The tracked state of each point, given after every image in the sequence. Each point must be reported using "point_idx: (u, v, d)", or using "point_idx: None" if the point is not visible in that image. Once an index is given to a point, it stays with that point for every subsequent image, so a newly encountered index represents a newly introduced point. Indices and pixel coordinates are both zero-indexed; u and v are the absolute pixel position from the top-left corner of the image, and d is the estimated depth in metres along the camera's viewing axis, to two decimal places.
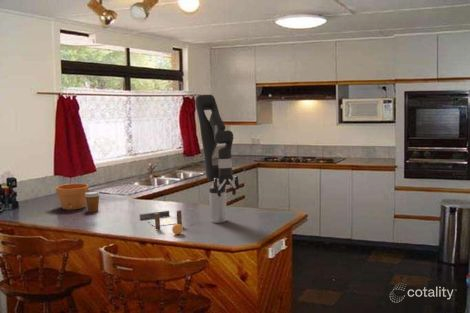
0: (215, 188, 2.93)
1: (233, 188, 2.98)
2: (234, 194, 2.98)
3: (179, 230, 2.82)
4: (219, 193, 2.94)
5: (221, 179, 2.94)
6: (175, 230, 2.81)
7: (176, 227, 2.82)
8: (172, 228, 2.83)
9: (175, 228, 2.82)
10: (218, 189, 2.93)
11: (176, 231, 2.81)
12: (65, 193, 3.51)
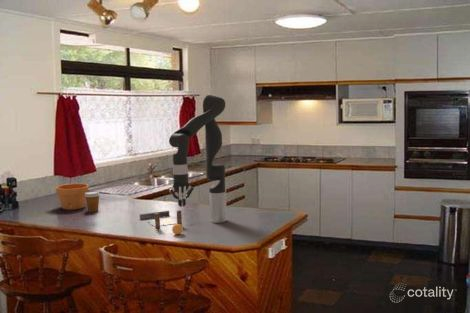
0: (176, 198, 2.71)
1: (183, 199, 2.73)
2: (184, 205, 2.73)
3: (179, 230, 2.82)
4: (180, 203, 2.72)
5: (176, 186, 2.70)
6: (175, 230, 2.81)
7: (176, 227, 2.82)
8: (172, 228, 2.83)
9: (175, 228, 2.82)
10: (179, 199, 2.72)
11: (176, 231, 2.81)
12: (65, 193, 3.51)
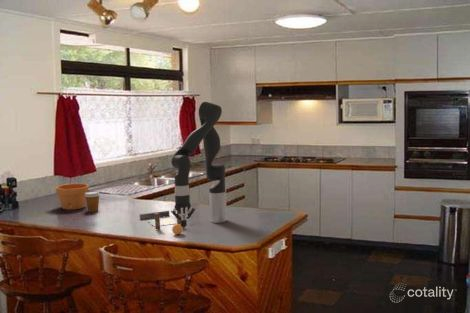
0: (178, 219, 2.72)
1: None
2: (185, 226, 2.74)
3: (179, 230, 2.82)
4: (182, 224, 2.73)
5: (177, 207, 2.71)
6: (175, 230, 2.81)
7: (176, 227, 2.82)
8: (172, 228, 2.83)
9: (175, 228, 2.82)
10: (182, 220, 2.73)
11: (176, 231, 2.81)
12: (65, 193, 3.51)
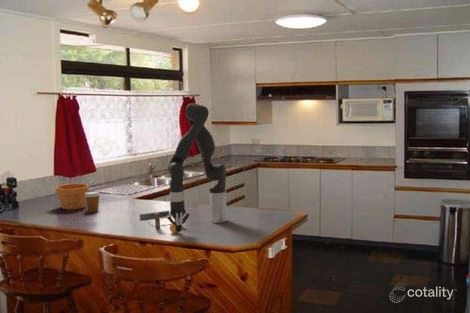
0: (174, 224, 2.81)
1: None
2: (180, 231, 2.83)
3: None
4: (178, 228, 2.83)
5: (173, 213, 2.81)
6: (172, 225, 2.85)
7: None
8: None
9: (171, 224, 2.86)
10: (177, 225, 2.82)
11: (173, 226, 2.85)
12: (65, 193, 3.51)
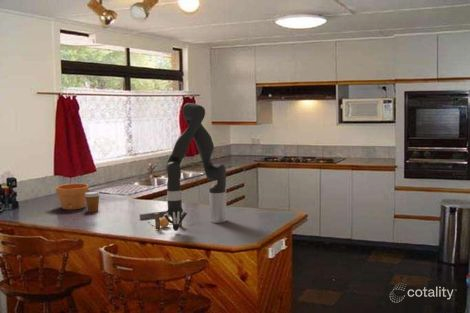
0: (171, 223, 2.84)
1: None
2: (177, 230, 2.86)
3: (165, 222, 2.98)
4: (175, 227, 2.86)
5: (170, 212, 2.83)
6: (162, 222, 2.98)
7: (162, 220, 2.98)
8: None
9: (162, 221, 2.98)
10: (174, 224, 2.85)
11: (163, 223, 2.98)
12: (65, 193, 3.51)
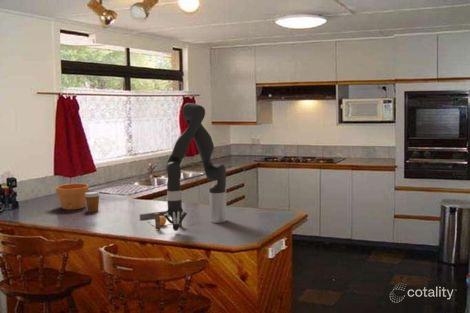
0: (171, 223, 2.84)
1: None
2: (177, 230, 2.86)
3: (160, 216, 3.04)
4: (175, 227, 2.86)
5: (170, 212, 2.83)
6: None
7: None
8: None
9: None
10: (174, 224, 2.85)
11: None
12: (65, 193, 3.51)
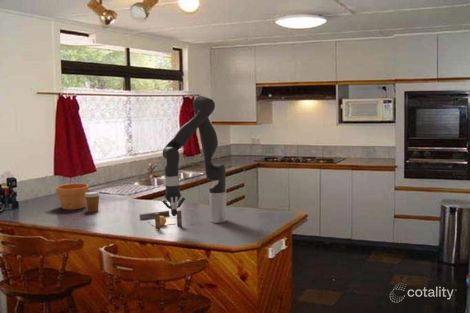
0: (169, 208, 2.84)
1: (174, 209, 2.86)
2: (175, 215, 2.86)
3: (160, 216, 3.04)
4: (173, 212, 2.86)
5: (168, 197, 2.83)
6: None
7: None
8: None
9: None
10: (172, 209, 2.85)
11: None
12: (65, 193, 3.51)
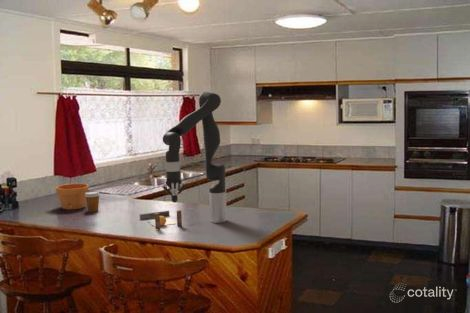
0: (169, 194, 2.82)
1: (174, 195, 2.84)
2: (175, 201, 2.84)
3: (160, 216, 3.04)
4: (173, 199, 2.84)
5: (168, 183, 2.82)
6: None
7: None
8: None
9: None
10: (173, 195, 2.83)
11: None
12: (65, 193, 3.51)
